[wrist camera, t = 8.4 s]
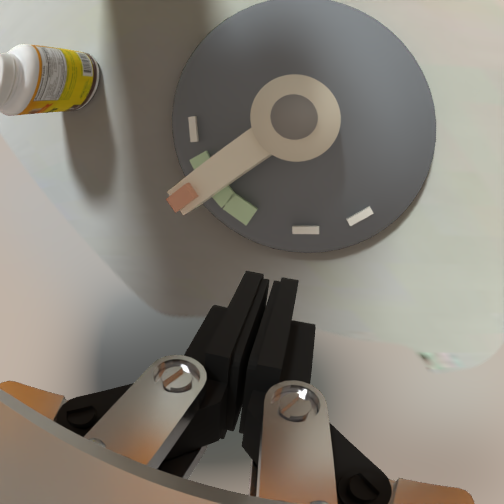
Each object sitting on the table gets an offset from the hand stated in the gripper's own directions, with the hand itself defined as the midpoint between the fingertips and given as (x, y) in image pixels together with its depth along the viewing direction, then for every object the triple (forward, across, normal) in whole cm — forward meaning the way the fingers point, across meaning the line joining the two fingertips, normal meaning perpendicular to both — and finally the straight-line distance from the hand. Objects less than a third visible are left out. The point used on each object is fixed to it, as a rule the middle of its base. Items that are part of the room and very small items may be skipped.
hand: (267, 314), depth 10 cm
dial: (+14, 0, -6) cm, 15 cm away
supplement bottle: (+15, +20, -9) cm, 26 cm away
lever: (+12, +3, -4) cm, 13 cm away
